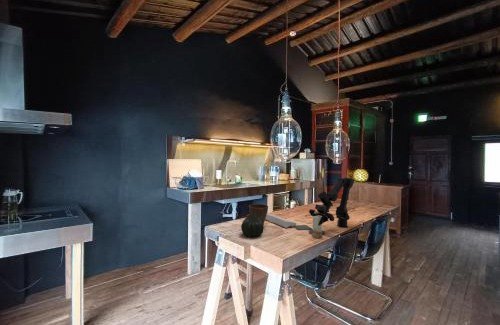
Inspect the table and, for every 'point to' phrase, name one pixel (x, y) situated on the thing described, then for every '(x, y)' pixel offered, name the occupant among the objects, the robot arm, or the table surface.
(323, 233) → the offcut rack
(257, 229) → the squash
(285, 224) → the decorative molding
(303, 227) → the rubber mat
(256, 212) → the plant pot
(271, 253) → the table surface
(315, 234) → the walnut offcut stack
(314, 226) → the sage plank
